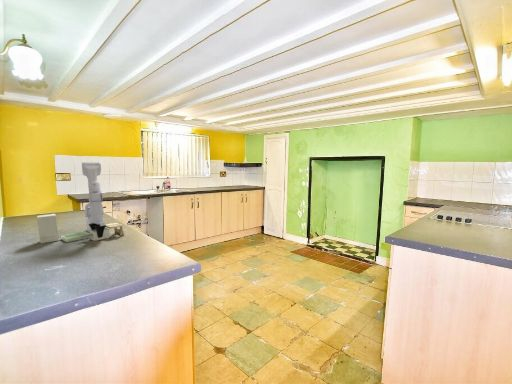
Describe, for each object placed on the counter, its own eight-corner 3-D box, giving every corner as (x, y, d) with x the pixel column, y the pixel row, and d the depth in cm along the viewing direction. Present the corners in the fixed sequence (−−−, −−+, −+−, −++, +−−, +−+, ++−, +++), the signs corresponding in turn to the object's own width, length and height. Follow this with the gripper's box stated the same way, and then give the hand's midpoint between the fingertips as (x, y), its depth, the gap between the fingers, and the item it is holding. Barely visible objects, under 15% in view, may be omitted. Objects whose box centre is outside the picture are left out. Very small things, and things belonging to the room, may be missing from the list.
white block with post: (79, 241, 145) (79, 232, 144) (105, 235, 155) (105, 227, 155) (83, 243, 141) (82, 233, 141) (109, 237, 152) (109, 228, 151)
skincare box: (58, 238, 149) (56, 213, 148) (58, 241, 145) (56, 215, 143) (39, 241, 144) (37, 215, 142) (39, 243, 140) (36, 216, 138)
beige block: (104, 235, 156) (103, 224, 155) (117, 232, 162) (117, 222, 162) (110, 238, 151) (109, 227, 150) (124, 235, 157) (123, 224, 156)
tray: (61, 239, 148) (60, 235, 148) (85, 234, 158) (85, 231, 158) (67, 242, 142) (66, 238, 142) (91, 237, 152) (91, 234, 152)
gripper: (83, 212, 149) (85, 235, 151) (93, 215, 140) (95, 240, 142) (97, 210, 155) (98, 233, 156) (107, 213, 146) (109, 237, 147)
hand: (98, 236), depth 149 cm, fingers closed on white block with post, 6 cm apart
